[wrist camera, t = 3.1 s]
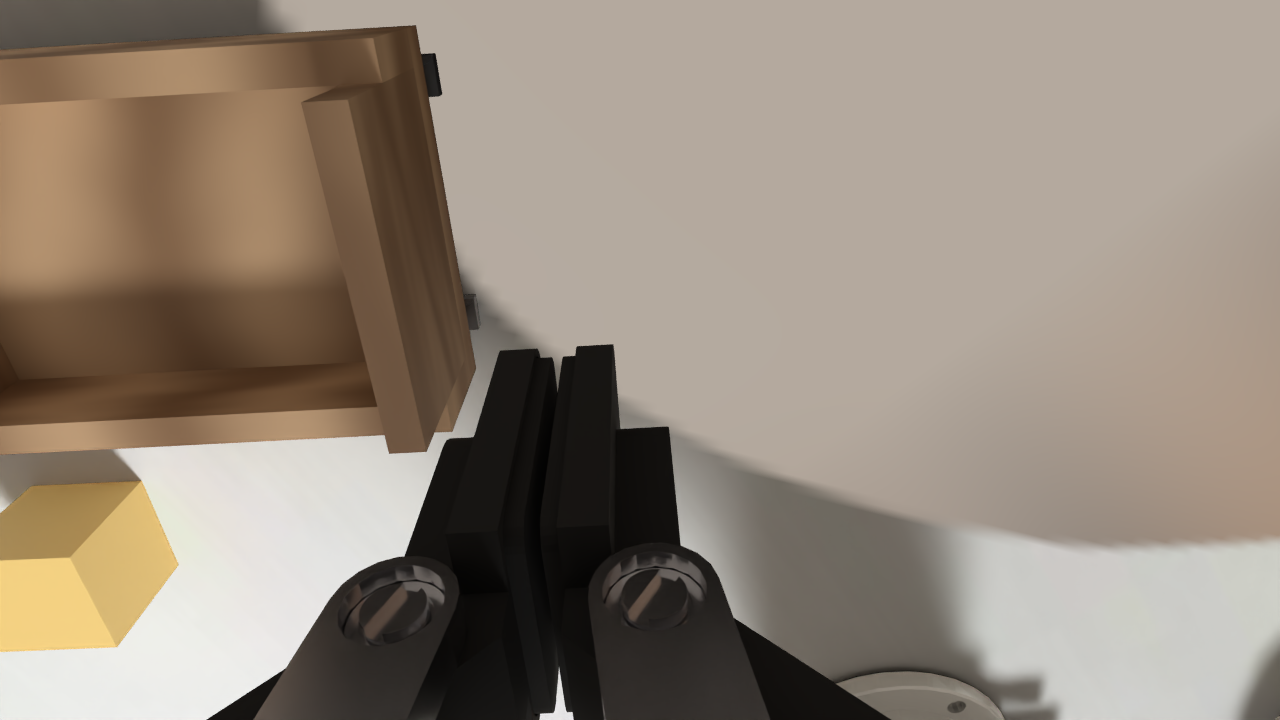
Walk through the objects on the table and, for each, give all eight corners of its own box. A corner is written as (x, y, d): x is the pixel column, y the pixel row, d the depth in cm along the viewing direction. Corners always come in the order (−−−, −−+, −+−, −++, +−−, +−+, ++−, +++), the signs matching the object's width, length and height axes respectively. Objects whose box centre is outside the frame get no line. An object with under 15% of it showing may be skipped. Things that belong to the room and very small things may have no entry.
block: (142, 479, 31) (69, 557, 27) (179, 563, 33) (116, 647, 29) (33, 484, 31) (-57, 563, 27) (77, 567, 33) (0, 651, 29)
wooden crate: (426, 22, 22) (336, 48, 15) (481, 352, 27) (433, 481, 21) (-108, 53, 22) (-429, 92, 16) (47, 375, 28) (-144, 510, 21)
